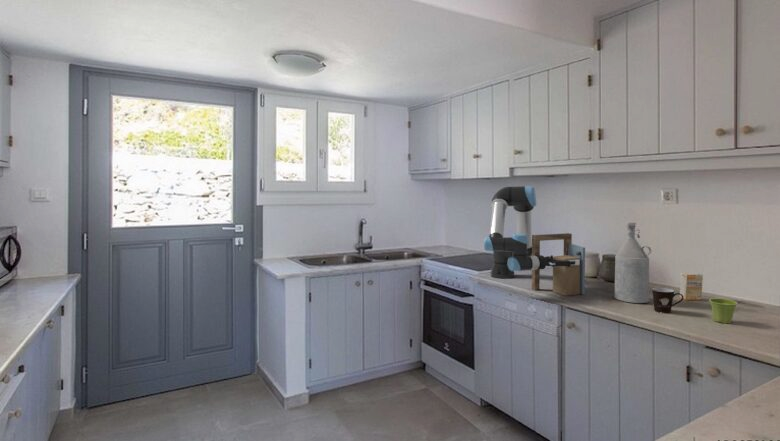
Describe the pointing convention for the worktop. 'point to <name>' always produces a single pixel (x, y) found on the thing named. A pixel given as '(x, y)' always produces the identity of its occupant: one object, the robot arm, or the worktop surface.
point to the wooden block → (566, 277)
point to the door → (580, 252)
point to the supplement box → (691, 286)
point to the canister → (632, 270)
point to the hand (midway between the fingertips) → (571, 260)
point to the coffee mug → (664, 299)
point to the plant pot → (722, 310)
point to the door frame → (536, 251)
